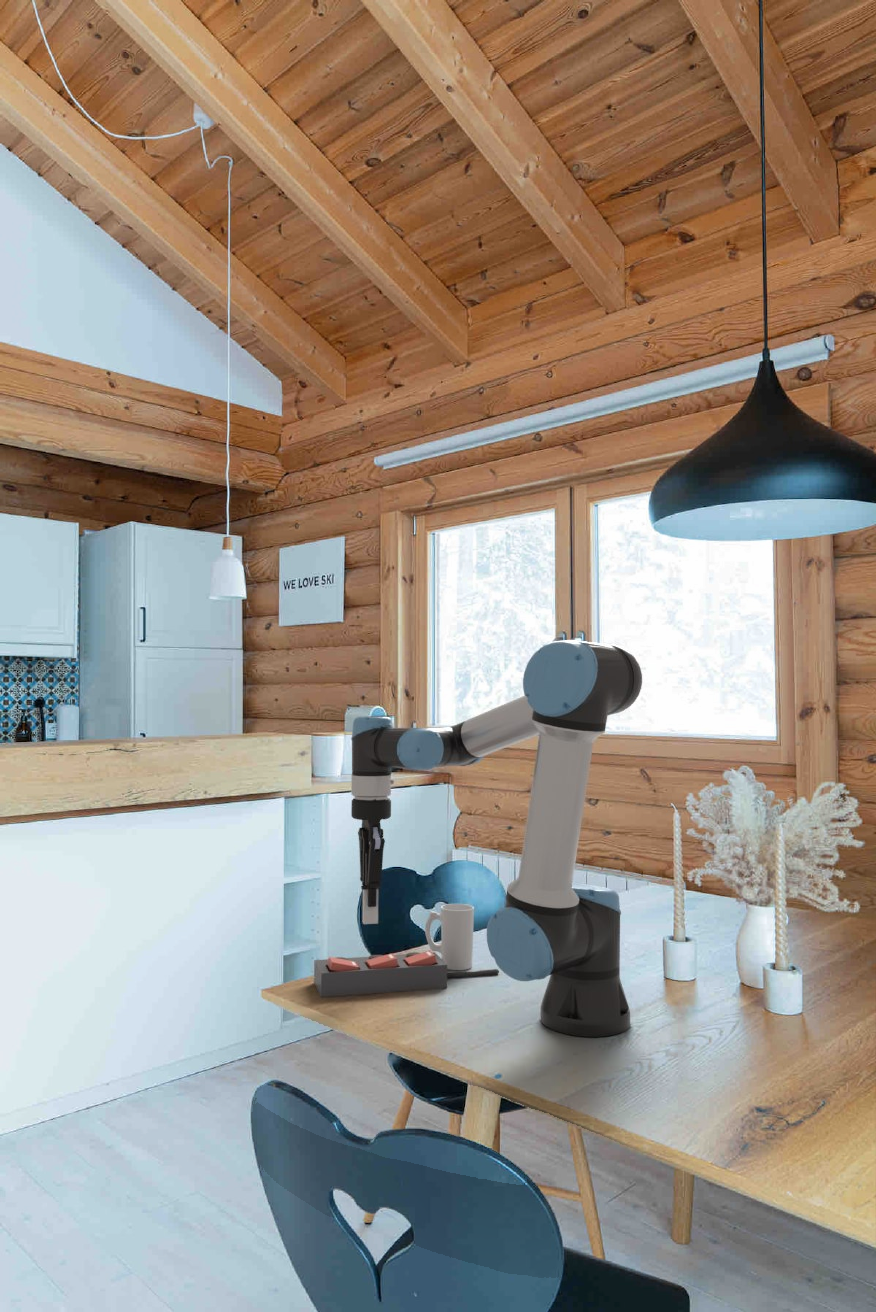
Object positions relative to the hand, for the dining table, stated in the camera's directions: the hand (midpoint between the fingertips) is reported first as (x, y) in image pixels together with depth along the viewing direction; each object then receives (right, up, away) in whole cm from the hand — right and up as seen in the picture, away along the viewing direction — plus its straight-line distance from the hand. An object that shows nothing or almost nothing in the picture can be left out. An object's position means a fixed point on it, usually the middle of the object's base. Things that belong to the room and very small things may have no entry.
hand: (370, 922), depth 180 cm
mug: (+15, -13, +15) cm, 25 cm away
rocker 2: (+2, -8, 0) cm, 8 cm away
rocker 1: (-5, -8, -2) cm, 9 cm away
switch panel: (+8, -13, +3) cm, 15 cm away
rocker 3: (+9, -8, +2) cm, 13 cm away
